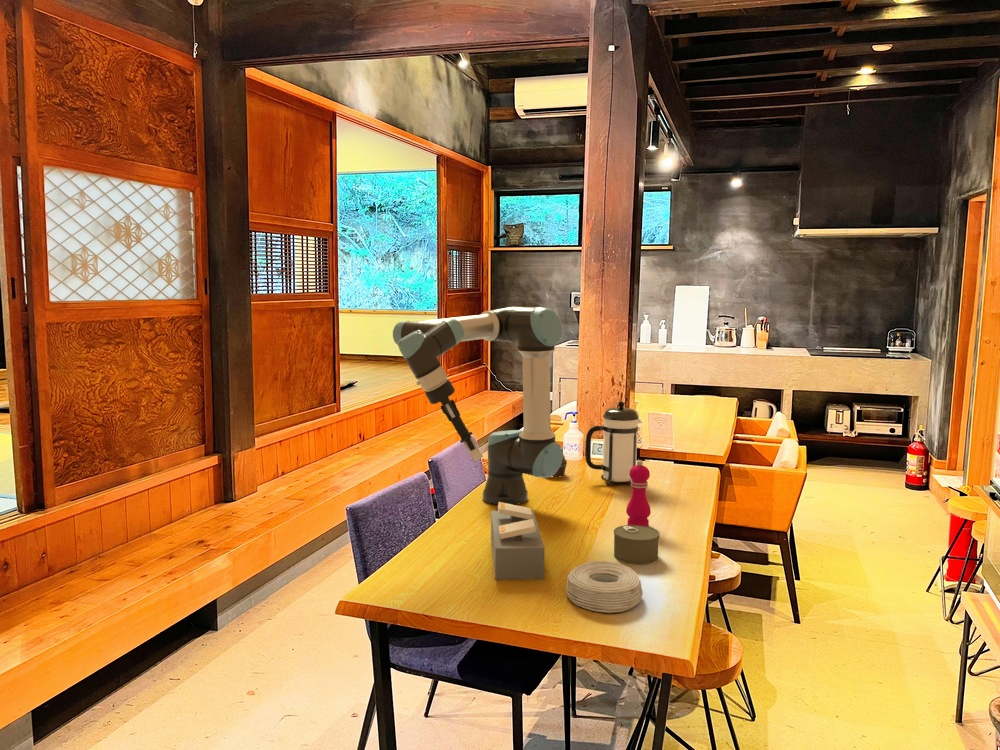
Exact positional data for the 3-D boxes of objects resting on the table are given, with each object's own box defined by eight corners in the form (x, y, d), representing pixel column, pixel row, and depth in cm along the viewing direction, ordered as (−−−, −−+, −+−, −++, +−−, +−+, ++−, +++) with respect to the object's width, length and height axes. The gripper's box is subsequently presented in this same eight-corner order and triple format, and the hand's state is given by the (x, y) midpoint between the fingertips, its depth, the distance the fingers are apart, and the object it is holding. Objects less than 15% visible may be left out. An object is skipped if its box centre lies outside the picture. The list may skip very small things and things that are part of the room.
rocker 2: (499, 531, 192) (498, 525, 192) (533, 523, 192) (532, 518, 192) (501, 539, 186) (499, 533, 186) (536, 531, 186) (535, 525, 186)
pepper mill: (650, 529, 220) (652, 463, 218) (625, 528, 222) (627, 462, 219) (650, 522, 227) (652, 458, 225) (626, 520, 229) (628, 456, 226)
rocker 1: (497, 506, 207) (498, 501, 206) (529, 512, 207) (530, 507, 207) (498, 513, 201) (499, 507, 200) (531, 519, 201) (532, 514, 201)
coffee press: (612, 474, 284) (614, 396, 280) (647, 482, 273) (650, 401, 269) (583, 482, 272) (585, 401, 268) (619, 491, 261) (621, 406, 257)
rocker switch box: (490, 531, 218) (490, 500, 217) (531, 530, 219) (531, 500, 218) (495, 579, 183) (495, 543, 181) (544, 579, 183) (544, 543, 182)
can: (629, 568, 191) (630, 542, 190) (604, 552, 202) (605, 528, 201) (667, 561, 196) (668, 536, 195) (641, 546, 207) (642, 522, 206)
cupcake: (539, 472, 287) (539, 446, 285) (564, 471, 288) (564, 446, 286) (543, 478, 277) (543, 452, 276) (568, 478, 278) (569, 451, 277)
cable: (608, 578, 185) (609, 554, 184) (658, 604, 170) (659, 578, 169) (551, 593, 175) (552, 568, 175) (599, 622, 161) (600, 595, 160)
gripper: (423, 388, 207) (464, 458, 211) (424, 396, 194) (468, 471, 199) (447, 374, 207) (487, 445, 212) (450, 382, 194) (493, 458, 199)
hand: (478, 458), depth 205 cm, fingers closed
